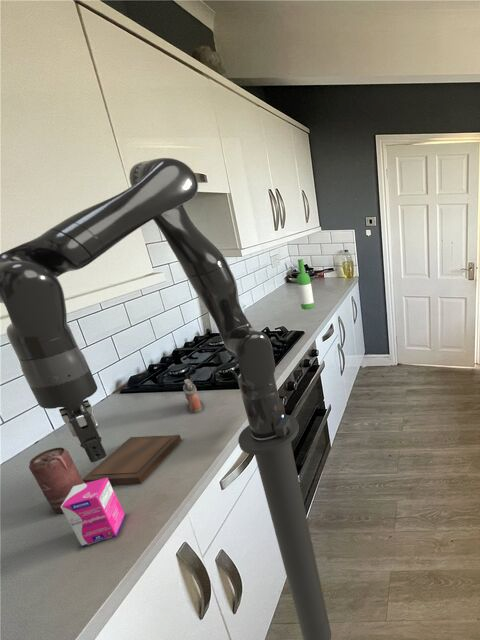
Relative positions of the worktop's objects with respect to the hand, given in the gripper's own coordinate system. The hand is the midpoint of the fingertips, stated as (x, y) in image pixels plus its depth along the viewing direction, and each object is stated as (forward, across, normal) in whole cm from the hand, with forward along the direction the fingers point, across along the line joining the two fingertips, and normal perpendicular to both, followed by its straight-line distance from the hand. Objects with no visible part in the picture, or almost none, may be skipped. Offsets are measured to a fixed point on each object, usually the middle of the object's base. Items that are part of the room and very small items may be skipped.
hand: (94, 449), depth 66 cm
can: (+22, +21, +7) cm, 31 cm away
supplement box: (+22, +5, +4) cm, 23 cm away
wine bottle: (+22, +104, -110) cm, 153 cm away
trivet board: (+22, +25, -6) cm, 34 cm away
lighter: (+22, +41, -26) cm, 53 cm away
